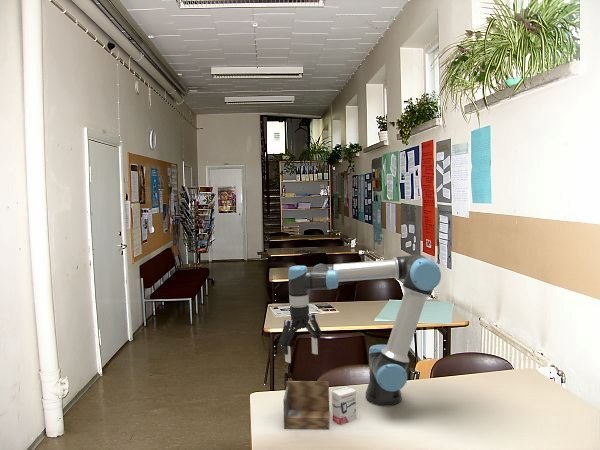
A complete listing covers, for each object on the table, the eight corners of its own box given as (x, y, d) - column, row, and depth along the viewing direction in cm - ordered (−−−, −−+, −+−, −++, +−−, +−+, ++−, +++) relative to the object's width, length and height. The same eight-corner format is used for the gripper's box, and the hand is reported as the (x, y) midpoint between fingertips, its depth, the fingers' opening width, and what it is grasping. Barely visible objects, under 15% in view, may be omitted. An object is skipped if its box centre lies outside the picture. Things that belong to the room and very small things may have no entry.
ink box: (339, 425, 194) (339, 395, 193) (332, 420, 198) (331, 391, 197) (357, 419, 199) (356, 390, 198) (349, 414, 203) (348, 386, 202)
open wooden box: (329, 413, 204) (328, 381, 203) (329, 429, 191) (328, 394, 190) (287, 413, 205) (286, 381, 204) (284, 428, 192) (283, 394, 191)
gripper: (317, 298, 210) (319, 348, 212) (267, 309, 195) (270, 363, 197) (329, 301, 204) (331, 352, 206) (279, 312, 189) (281, 368, 191)
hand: (301, 357), depth 201 cm, fingers open, 13 cm apart
